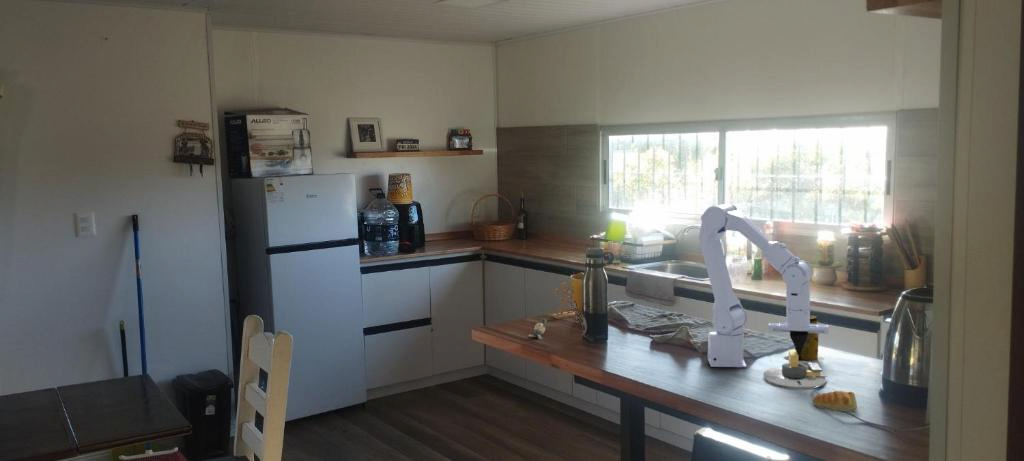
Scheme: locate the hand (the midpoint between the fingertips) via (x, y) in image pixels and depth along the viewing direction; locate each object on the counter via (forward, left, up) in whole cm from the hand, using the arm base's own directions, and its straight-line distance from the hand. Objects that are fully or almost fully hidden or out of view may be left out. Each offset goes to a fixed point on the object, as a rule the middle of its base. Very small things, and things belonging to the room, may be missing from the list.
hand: (798, 359), depth 204 cm
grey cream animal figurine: (-72, +35, -5) cm, 80 cm away
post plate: (-2, -4, -4) cm, 6 cm away
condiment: (+5, +15, -5) cm, 17 cm away
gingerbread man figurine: (-66, +62, -5) cm, 91 cm away
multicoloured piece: (0, -3, -3) cm, 4 cm away
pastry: (+4, -23, -5) cm, 24 cm away
